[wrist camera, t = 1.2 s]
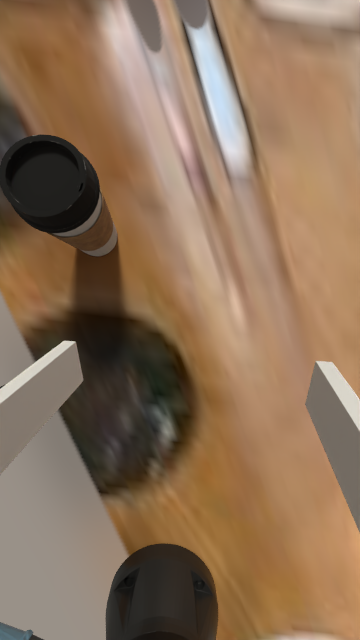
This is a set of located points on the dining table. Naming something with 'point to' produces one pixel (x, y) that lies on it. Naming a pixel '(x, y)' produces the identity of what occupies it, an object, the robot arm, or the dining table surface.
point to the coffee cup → (58, 193)
